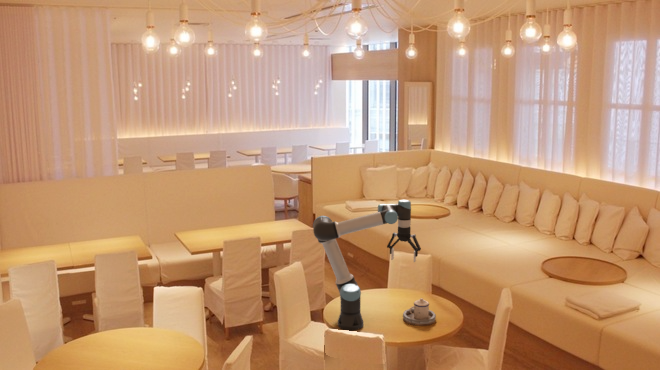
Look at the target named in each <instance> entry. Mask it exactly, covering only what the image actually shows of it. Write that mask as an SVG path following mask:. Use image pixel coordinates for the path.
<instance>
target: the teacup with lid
mask: <svg viewBox="0 0 660 370" xmlns="http://www.w3.org/2000/svg"><path fill="white" fill-rule="evenodd" d="M429 305H430V303H429V301H427V300H425V299H424V298H423V297H421V298H419V299H417V300H415V301H414V302H413V306H410V308H409V309H410V313H411V314H414V317H415V318H416V319H420V320H424V319H427V318H428V317H429V310H430V309H429V308H430V306H429ZM412 308H414V313H412V312H411V309H412Z"/></svg>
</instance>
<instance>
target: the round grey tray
mask: <svg viewBox="0 0 660 370" xmlns="http://www.w3.org/2000/svg"><path fill="white" fill-rule="evenodd" d="M411 312H412V313H414V308H412V309H411ZM436 318H437V315H436V313H435V312H434V311H433V310H431V309H429V317H428V318H427V319H424V320H420V319H416V318H415V317H414V314H411V313H410V308H408V309H405V310H404V311H403V313H402V319H403V321H404V323H407V324H408V325H411V326H418V327H426V326H430V325H433V324H434V323H435V322H436Z"/></svg>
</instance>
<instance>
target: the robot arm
mask: <svg viewBox="0 0 660 370" xmlns="http://www.w3.org/2000/svg"><path fill="white" fill-rule="evenodd" d="M411 217H412V202H411V201H410V200H408V199H400V200H398V201H397V203H380V204H378V206H377V212H374V213H373V212H372V213H370V214H366V215H362V216H357V217H354V218H350V219H346V220H342V221H339V222H337V221H332V219H331V218H330V217H329V216H326V215H320V216H317V217H316V218H315V219H314V221H313V223H312V228H313V230H312V233H313V235H314V237H315V239H317V241H318V243H319V244H321V245H322V247H323V249H324V252H325V254H326V256H327V259H328V261H329V264H330V266H331V268H332V271H333V273H334V276H335V285H336V287H337V289H338V294H339V297H340V298H339V299H340V312H339V316H338V319H337V327H338V328H340V329H342V330H345V331H357V330H360V329H362V328H363V327H364V319H363V316H362V313H361V294H362V292H361V288H360V286H359V284H358V282H357V280H356V279H355V277H354V275H353V274H352V273H351V272H350V271H349V268H348V265H347V263H346V260H345V259H344V258H345V257H344V256H343V253H342V250H341V248H340V246H339V243H338V241H337V239H340V238H341V236H344V235H348V234H352V233H356V232H359V231H363V230H367V229H371V228H374V227H378V226H383V225H386V224H389V225H394V224H396V223H397V233H396V232H395V231H394V232H393V233H392V234H391V238H390V240H389V242H388V244H387V245H386V248H387V249H389V254H390V256H391V257H390V258H391V261H392V260H394V258H395V257H394V256H395V252H394V251H395V248H394V247H395V246H396V244H397V243H398V242H404V243H406V242H407V243H408V244H409V245H410V246H411V248H412V250H413V263H416V262H417V257H418V254H419V253H418V252H420V251H421V249H422V248H421V246H420V244H419V241H418V239H417V235H416V234H415V233H413V234H411V232H412V231H411V229H412V227H411V225H412V224H411V223H412V221H411V219H412V218H411ZM396 237H397V239H396V240H395V241H394V239H395V238H396ZM411 238H412V240H413V241H412V240H411ZM393 242H394V243H393ZM392 243H393V244H392Z"/></svg>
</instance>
